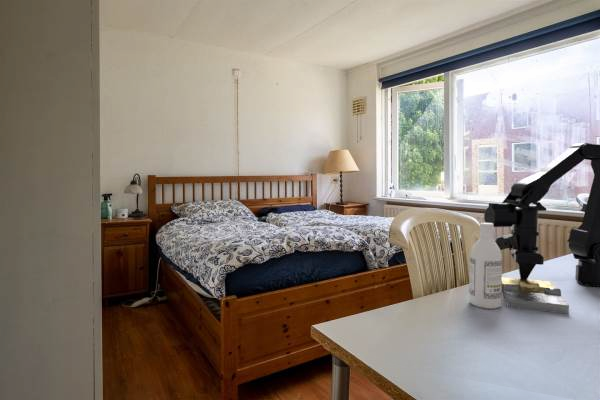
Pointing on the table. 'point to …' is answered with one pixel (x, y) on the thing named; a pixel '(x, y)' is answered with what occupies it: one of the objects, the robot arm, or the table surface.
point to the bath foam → (485, 270)
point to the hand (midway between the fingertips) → (523, 281)
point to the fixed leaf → (536, 299)
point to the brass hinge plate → (527, 284)
